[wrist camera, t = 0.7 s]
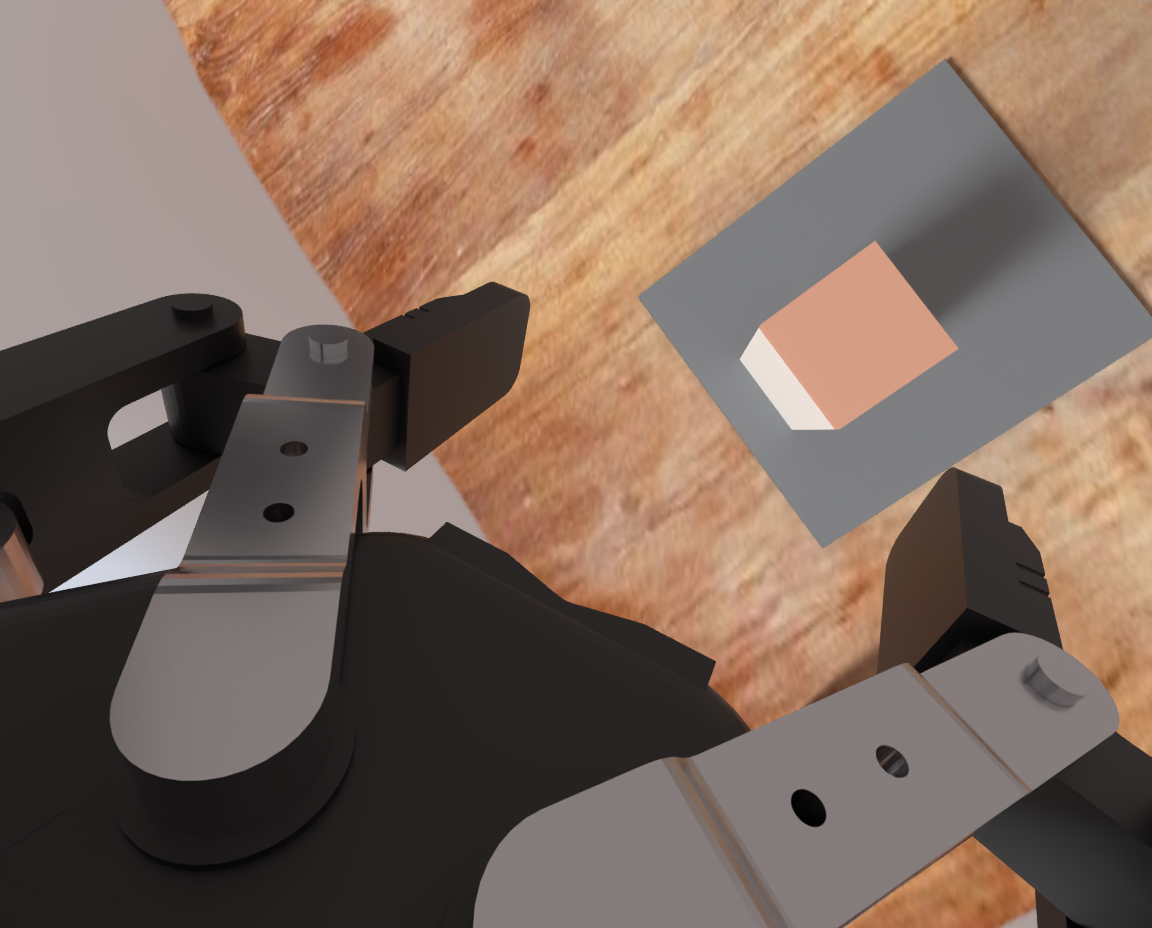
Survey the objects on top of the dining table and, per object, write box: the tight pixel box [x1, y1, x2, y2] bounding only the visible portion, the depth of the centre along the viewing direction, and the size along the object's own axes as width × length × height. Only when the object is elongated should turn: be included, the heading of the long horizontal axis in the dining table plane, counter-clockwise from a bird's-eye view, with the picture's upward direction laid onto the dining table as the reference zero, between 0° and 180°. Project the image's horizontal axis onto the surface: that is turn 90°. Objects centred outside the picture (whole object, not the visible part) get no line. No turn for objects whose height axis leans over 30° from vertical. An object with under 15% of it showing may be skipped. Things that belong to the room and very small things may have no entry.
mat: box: [638, 59, 1152, 548], centre depth 35 cm, size 18×20×1 cm
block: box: [740, 241, 959, 430], centre depth 29 cm, size 5×5×12 cm
